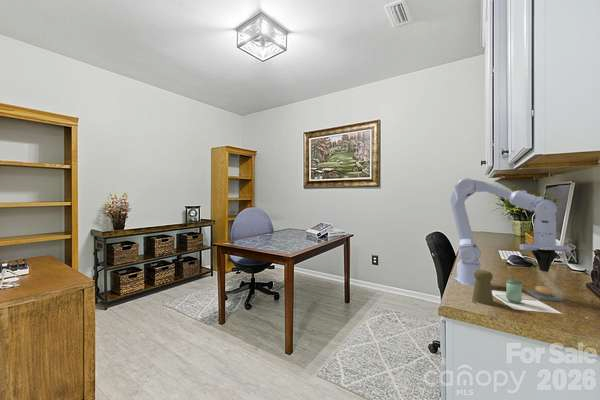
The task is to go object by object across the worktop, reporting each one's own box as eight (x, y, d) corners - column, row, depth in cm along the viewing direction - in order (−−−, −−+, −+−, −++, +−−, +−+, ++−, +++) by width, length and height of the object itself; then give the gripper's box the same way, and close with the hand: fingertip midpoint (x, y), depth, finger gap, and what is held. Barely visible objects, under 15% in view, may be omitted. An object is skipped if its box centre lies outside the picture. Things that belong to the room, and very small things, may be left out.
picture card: (484, 291, 98) (484, 289, 98) (523, 294, 95) (523, 292, 95) (513, 310, 80) (513, 308, 80) (562, 315, 77) (562, 313, 77)
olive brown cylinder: (484, 307, 82) (484, 273, 82) (467, 300, 88) (468, 268, 88) (498, 305, 84) (499, 272, 84) (480, 298, 90) (481, 267, 90)
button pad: (525, 294, 95) (525, 289, 95) (547, 295, 94) (547, 290, 94) (539, 301, 88) (539, 295, 88) (563, 303, 87) (563, 297, 87)
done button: (532, 290, 94) (532, 285, 94) (546, 291, 93) (546, 286, 93) (540, 294, 89) (541, 289, 89) (555, 295, 89) (555, 290, 89)
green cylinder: (503, 299, 88) (503, 278, 88) (516, 300, 87) (516, 279, 87) (511, 303, 84) (511, 282, 84) (525, 304, 83) (525, 283, 83)
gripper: (528, 233, 89) (528, 272, 89) (578, 235, 86) (577, 275, 86) (516, 231, 96) (515, 267, 96) (561, 233, 93) (561, 270, 93)
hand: (544, 271), depth 91 cm, fingers closed
